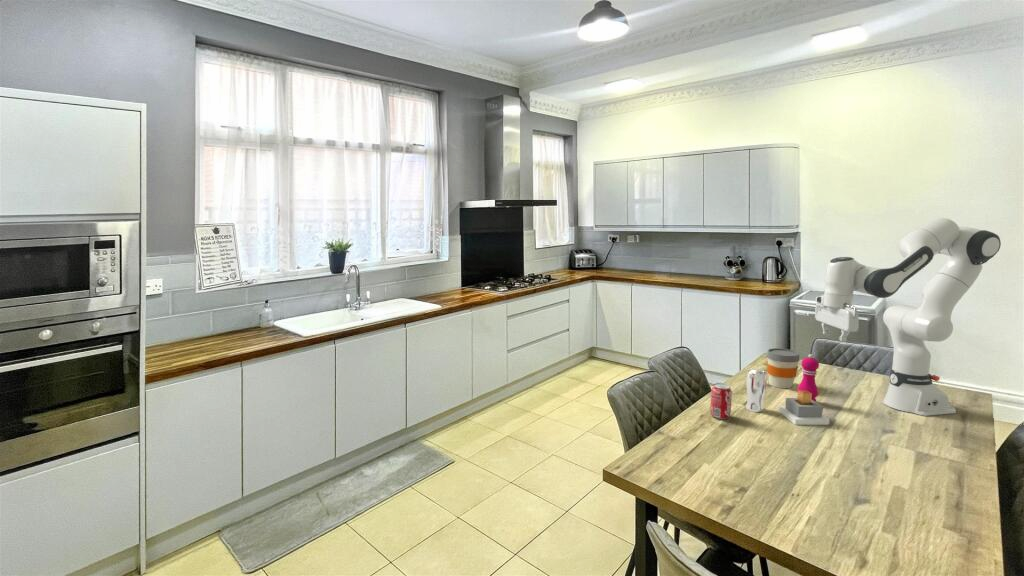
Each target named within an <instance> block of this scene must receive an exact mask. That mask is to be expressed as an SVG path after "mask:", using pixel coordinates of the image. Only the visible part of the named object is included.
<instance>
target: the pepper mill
mask: <svg viewBox="0 0 1024 576" xmlns="http://www.w3.org/2000/svg"><path fill="white" fill-rule="evenodd" d="M807 356H808V357H804V358H803V359H802V360H801V363H800V364H801V367H802V368H801V370H802V371H801V372H802V380H801V382H800V383H799V385H798V386H797V389H796V391H797V392H796V393H798V391H808V392H810V393H812V399H811V400H813V401H815V402H816V403H817V399H816V398H817V397H818V396H819V389H818V387H817V384H816V375H817V374H818V373H817V372H818V371H817V370H819V367H820V362H819V361H818V359H816V358H814V354H812V353H810V354H807Z"/></svg>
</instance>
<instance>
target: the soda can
mask: <svg viewBox="0 0 1024 576" xmlns="http://www.w3.org/2000/svg"><path fill="white" fill-rule="evenodd" d="M732 393H733V391H732V390H731V386H730V385H729V384H727V383H719V382H717V383H716V382H715V383H714V384H713V387H711V391H710V411H709V412H710V415H711V416H713V418H715V419H718V420H726V419H728V418H730V417H731V413H732V412H731V411H732V396H733V395H732Z"/></svg>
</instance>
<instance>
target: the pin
mask: <svg viewBox="0 0 1024 576" xmlns="http://www.w3.org/2000/svg"><path fill="white" fill-rule="evenodd" d="M796 398H797V403H799V404H800V405H811V399H812V393H810V392H808V391H798V392H797V397H796Z"/></svg>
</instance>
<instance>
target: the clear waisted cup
mask: <svg viewBox="0 0 1024 576" xmlns="http://www.w3.org/2000/svg"><path fill="white" fill-rule="evenodd" d="M767 374H768V372H766V371H764V370H761V369H755V368H754V369H752V368H751V369H748V370H747V374H746V381H745V387H746V392H747V393H746V394H747V401H746V405H745V409H746V410H748V411H750V412H752V413H754V412H755V413H762V412H764V403H763V402H764V397H765V393H766V390H767V382H768V380H767V379H768V378H767Z"/></svg>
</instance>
